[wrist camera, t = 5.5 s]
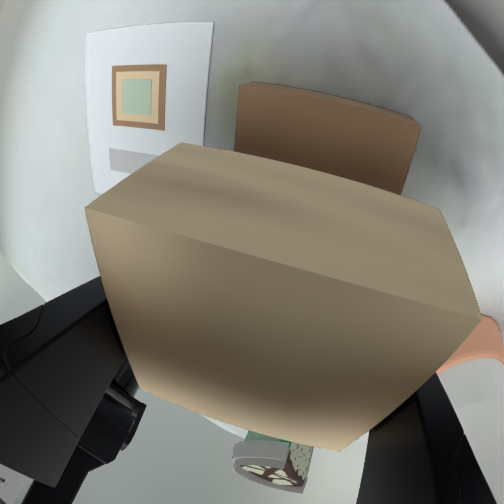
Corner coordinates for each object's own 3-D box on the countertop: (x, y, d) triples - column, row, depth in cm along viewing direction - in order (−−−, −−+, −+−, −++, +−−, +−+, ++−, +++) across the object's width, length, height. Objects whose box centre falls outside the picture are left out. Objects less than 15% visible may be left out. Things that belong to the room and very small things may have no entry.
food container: (243, 354, 27) (204, 450, 20) (309, 358, 25) (282, 466, 17) (272, 412, 34) (248, 484, 26) (321, 416, 31) (303, 494, 24)
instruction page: (200, 217, 19) (198, 219, 19) (95, 191, 21) (93, 193, 21) (214, 22, 12) (211, 21, 12) (87, 33, 13) (84, 33, 13)
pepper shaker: (407, 367, 22) (376, 589, 8) (441, 309, 18) (429, 603, 3) (474, 372, 20) (467, 574, 6) (514, 318, 16) (534, 565, 1)
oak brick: (352, 363, 10) (340, 451, 8) (184, 313, 11) (140, 389, 9) (439, 209, 6) (482, 318, 3) (181, 142, 7) (84, 207, 4)
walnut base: (370, 243, 17) (371, 269, 16) (242, 212, 19) (228, 233, 17) (410, 115, 12) (421, 126, 11) (254, 80, 14) (239, 85, 12)
